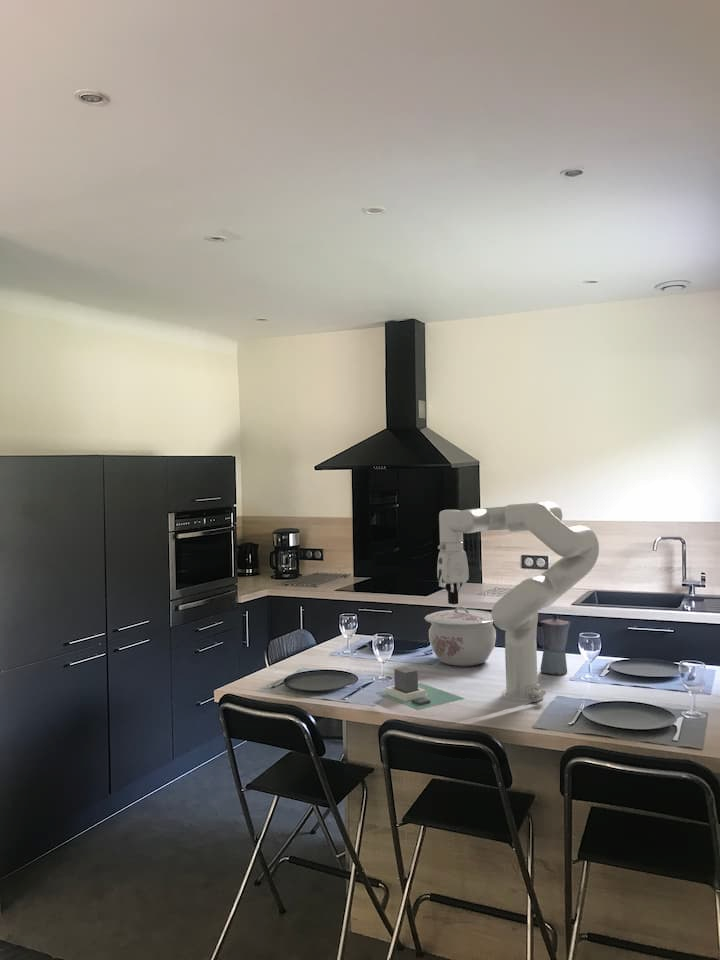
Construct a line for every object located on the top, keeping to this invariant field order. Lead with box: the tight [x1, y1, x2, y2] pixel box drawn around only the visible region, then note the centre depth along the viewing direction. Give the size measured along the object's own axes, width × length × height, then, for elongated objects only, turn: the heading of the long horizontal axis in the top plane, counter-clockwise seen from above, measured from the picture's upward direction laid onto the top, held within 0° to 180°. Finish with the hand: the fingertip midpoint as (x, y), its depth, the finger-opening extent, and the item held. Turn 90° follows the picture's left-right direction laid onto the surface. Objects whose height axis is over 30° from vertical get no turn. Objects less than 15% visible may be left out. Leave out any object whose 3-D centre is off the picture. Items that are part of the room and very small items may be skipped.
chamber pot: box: [424, 605, 497, 668], centre depth 278 cm, size 28×28×21 cm
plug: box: [393, 666, 419, 693], centre depth 234 cm, size 7×4×8 cm, turn 33°
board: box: [375, 682, 466, 711], centre depth 233 cm, size 22×18×3 cm
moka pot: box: [536, 613, 572, 675], centre depth 260 cm, size 10×15×20 cm, turn 112°
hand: (453, 603), depth 247 cm, fingers closed
